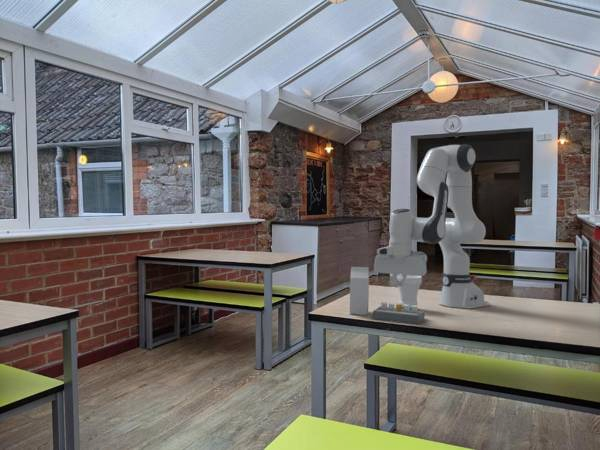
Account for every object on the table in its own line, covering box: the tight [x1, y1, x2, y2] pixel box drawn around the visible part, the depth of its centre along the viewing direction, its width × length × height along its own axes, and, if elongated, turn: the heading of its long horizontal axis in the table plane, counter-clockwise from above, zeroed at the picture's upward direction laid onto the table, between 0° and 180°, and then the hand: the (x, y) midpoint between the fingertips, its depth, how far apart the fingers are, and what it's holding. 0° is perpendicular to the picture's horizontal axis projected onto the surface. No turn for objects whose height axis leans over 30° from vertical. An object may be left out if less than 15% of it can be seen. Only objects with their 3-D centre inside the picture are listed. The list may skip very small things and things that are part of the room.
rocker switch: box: [395, 303, 402, 311], centre depth 192 cm, size 2×1×2 cm, turn 65°
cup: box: [397, 274, 423, 310], centre depth 210 cm, size 11×11×14 cm
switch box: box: [372, 301, 426, 325], centre depth 192 cm, size 18×10×6 cm, turn 64°
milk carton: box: [349, 266, 370, 316], centre depth 201 cm, size 7×7×19 cm
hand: (399, 285), depth 191 cm, fingers closed
